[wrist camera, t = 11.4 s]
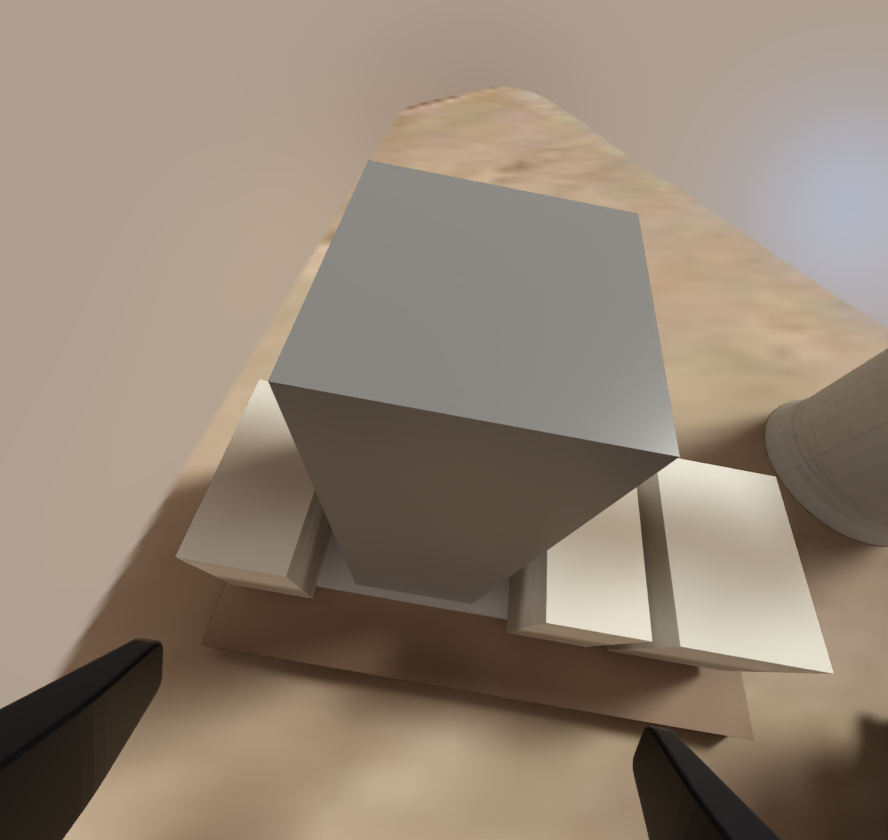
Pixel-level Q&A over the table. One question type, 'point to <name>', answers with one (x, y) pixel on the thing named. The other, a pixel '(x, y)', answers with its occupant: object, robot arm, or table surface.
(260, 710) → the table surface
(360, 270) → the block
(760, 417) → the table surface
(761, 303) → the table surface
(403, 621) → the board
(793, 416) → the glass holder
